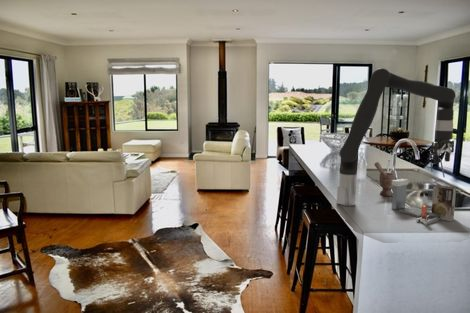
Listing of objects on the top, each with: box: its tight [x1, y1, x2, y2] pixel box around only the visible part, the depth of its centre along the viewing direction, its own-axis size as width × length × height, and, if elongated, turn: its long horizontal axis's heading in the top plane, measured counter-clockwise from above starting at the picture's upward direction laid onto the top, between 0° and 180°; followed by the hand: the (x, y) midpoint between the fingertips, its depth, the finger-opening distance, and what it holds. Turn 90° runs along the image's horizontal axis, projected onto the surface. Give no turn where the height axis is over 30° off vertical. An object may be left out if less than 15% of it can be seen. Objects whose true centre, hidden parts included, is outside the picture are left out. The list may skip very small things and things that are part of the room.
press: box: [391, 178, 441, 226], centre depth 192 cm, size 18×25×15 cm
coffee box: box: [430, 183, 457, 222], centre depth 186 cm, size 9×6×16 cm
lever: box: [419, 204, 429, 224], centre depth 180 cm, size 2×2×8 cm
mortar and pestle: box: [374, 161, 396, 197], centre depth 228 cm, size 12×9×20 cm
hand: (441, 162), depth 189 cm, fingers open, 8 cm apart
